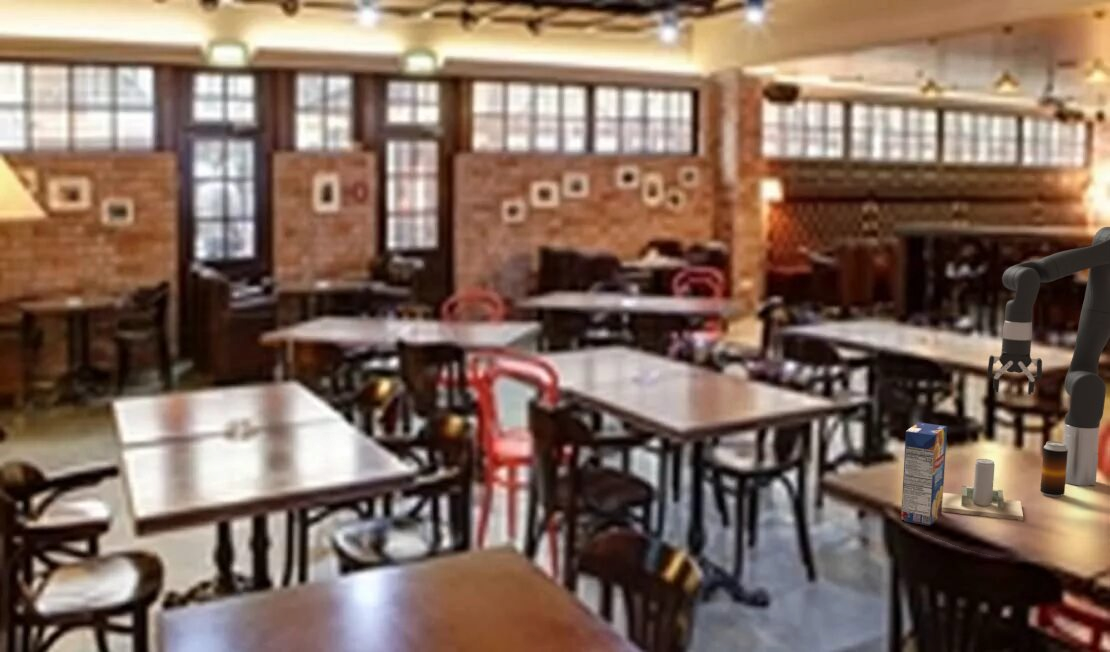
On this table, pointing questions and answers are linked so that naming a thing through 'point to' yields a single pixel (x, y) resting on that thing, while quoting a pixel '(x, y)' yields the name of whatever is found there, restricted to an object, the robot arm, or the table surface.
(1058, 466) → the beverage can
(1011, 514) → the rest
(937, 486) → the juice carton
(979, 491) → the white cylinder
